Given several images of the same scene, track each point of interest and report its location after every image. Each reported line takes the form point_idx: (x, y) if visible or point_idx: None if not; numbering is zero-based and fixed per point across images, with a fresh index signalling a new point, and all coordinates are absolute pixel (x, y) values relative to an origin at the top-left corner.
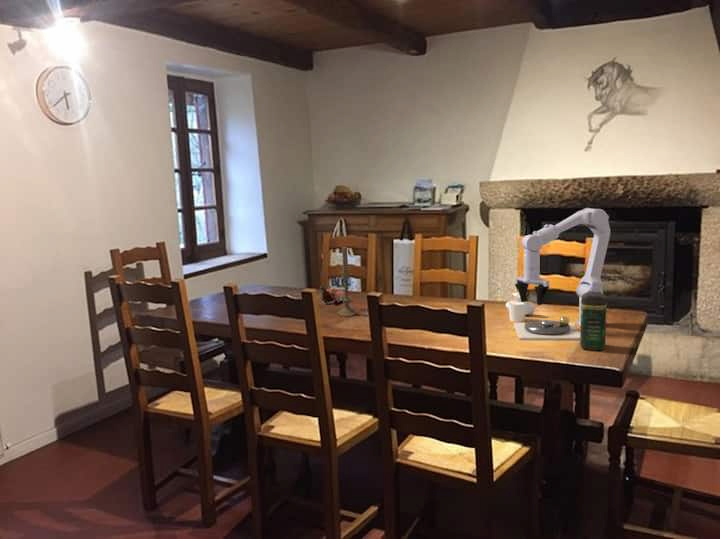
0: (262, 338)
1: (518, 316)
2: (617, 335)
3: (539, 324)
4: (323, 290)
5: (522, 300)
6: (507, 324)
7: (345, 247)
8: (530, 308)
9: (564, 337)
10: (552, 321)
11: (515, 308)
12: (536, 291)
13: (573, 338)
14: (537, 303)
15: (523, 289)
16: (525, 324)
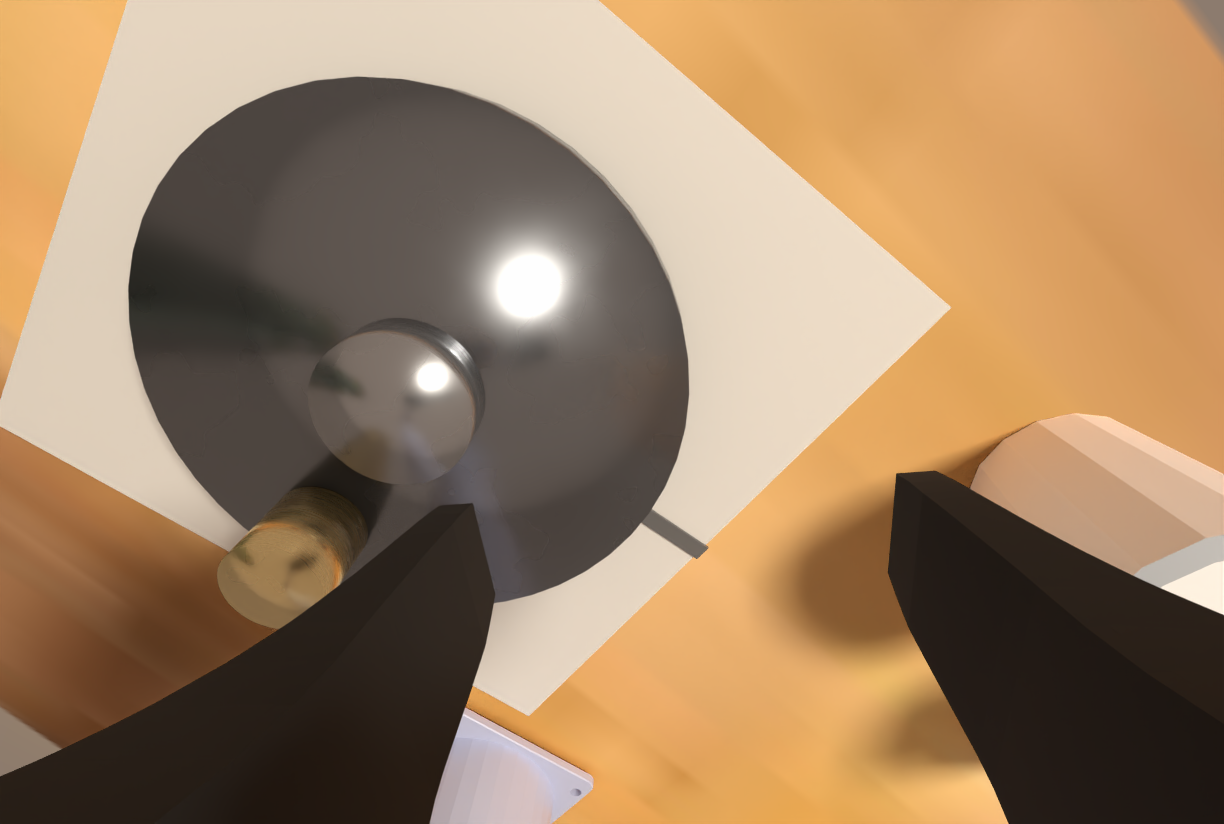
0: None
1: (1029, 480)
2: (101, 692)
3: (502, 357)
4: None
5: (913, 490)
6: (1026, 257)
7: None
8: None
9: (56, 277)
10: (360, 462)
11: (1140, 515)
12: (241, 727)
13: (23, 339)
14: (453, 514)
15: (1091, 790)
16: (609, 206)
